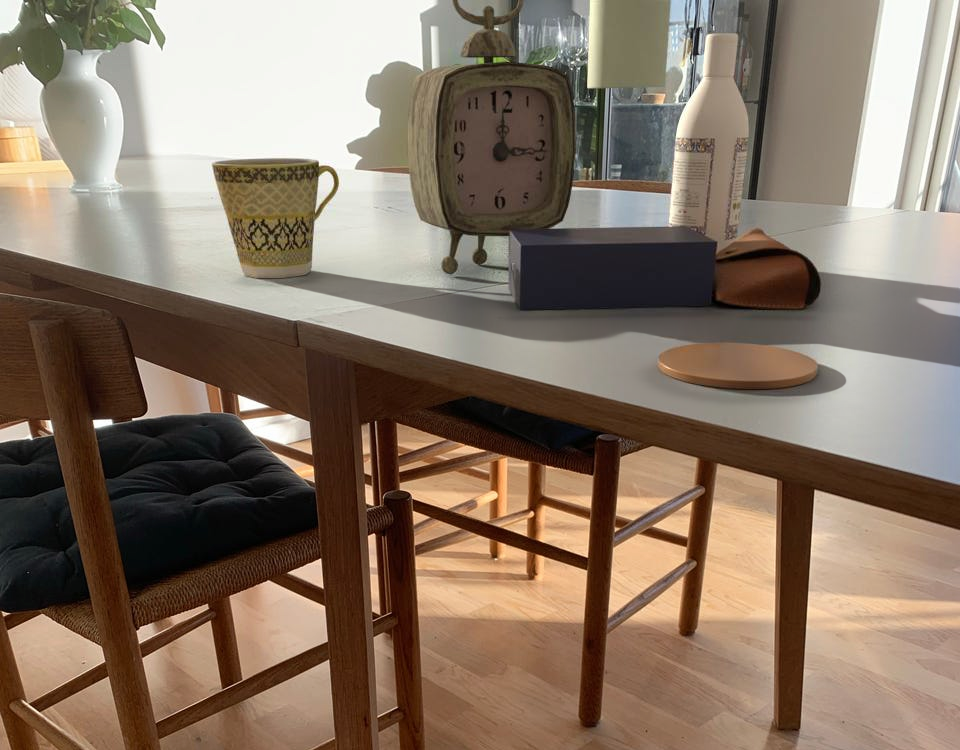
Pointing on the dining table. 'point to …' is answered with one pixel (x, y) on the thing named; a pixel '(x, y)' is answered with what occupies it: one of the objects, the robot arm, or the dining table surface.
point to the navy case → (610, 267)
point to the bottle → (628, 43)
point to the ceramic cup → (272, 212)
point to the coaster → (738, 365)
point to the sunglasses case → (764, 274)
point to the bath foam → (711, 149)
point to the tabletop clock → (490, 141)
